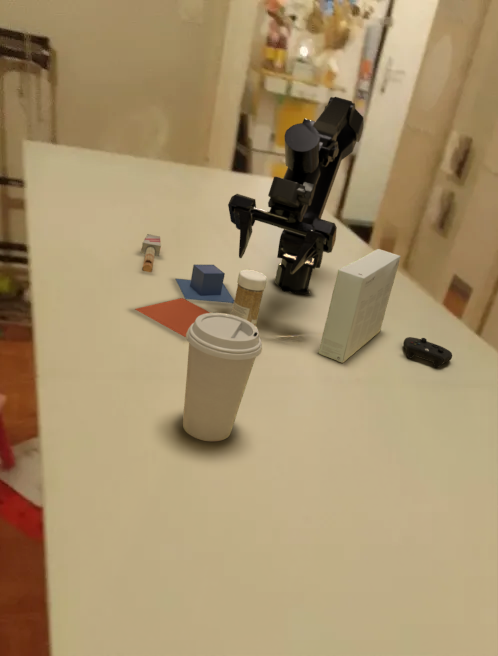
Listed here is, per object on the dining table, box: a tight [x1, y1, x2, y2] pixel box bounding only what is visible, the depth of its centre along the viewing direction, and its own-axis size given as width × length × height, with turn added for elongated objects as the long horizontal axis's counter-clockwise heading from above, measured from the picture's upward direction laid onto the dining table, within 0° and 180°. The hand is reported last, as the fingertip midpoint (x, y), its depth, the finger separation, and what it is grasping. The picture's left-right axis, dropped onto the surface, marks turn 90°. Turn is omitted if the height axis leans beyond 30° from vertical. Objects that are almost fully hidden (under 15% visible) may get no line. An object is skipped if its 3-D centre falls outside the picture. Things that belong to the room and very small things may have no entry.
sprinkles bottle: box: [230, 269, 268, 327], centre depth 110 cm, size 5×5×13 cm
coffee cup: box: [182, 312, 263, 442], centre depth 87 cm, size 10×10×15 cm
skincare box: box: [318, 248, 402, 364], centre depth 124 cm, size 21×6×16 cm, turn 154°
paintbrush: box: [140, 233, 162, 273], centre depth 142 cm, size 4×3×20 cm
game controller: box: [403, 336, 453, 368], centre depth 129 cm, size 10×5×6 cm
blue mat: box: [175, 278, 235, 304], centre depth 132 cm, size 10×10×1 cm
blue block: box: [190, 263, 226, 295], centre depth 131 cm, size 4×4×4 cm
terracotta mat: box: [134, 297, 211, 338], centre depth 119 cm, size 12×12×1 cm
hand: (265, 264), depth 114 cm, fingers open, 9 cm apart
